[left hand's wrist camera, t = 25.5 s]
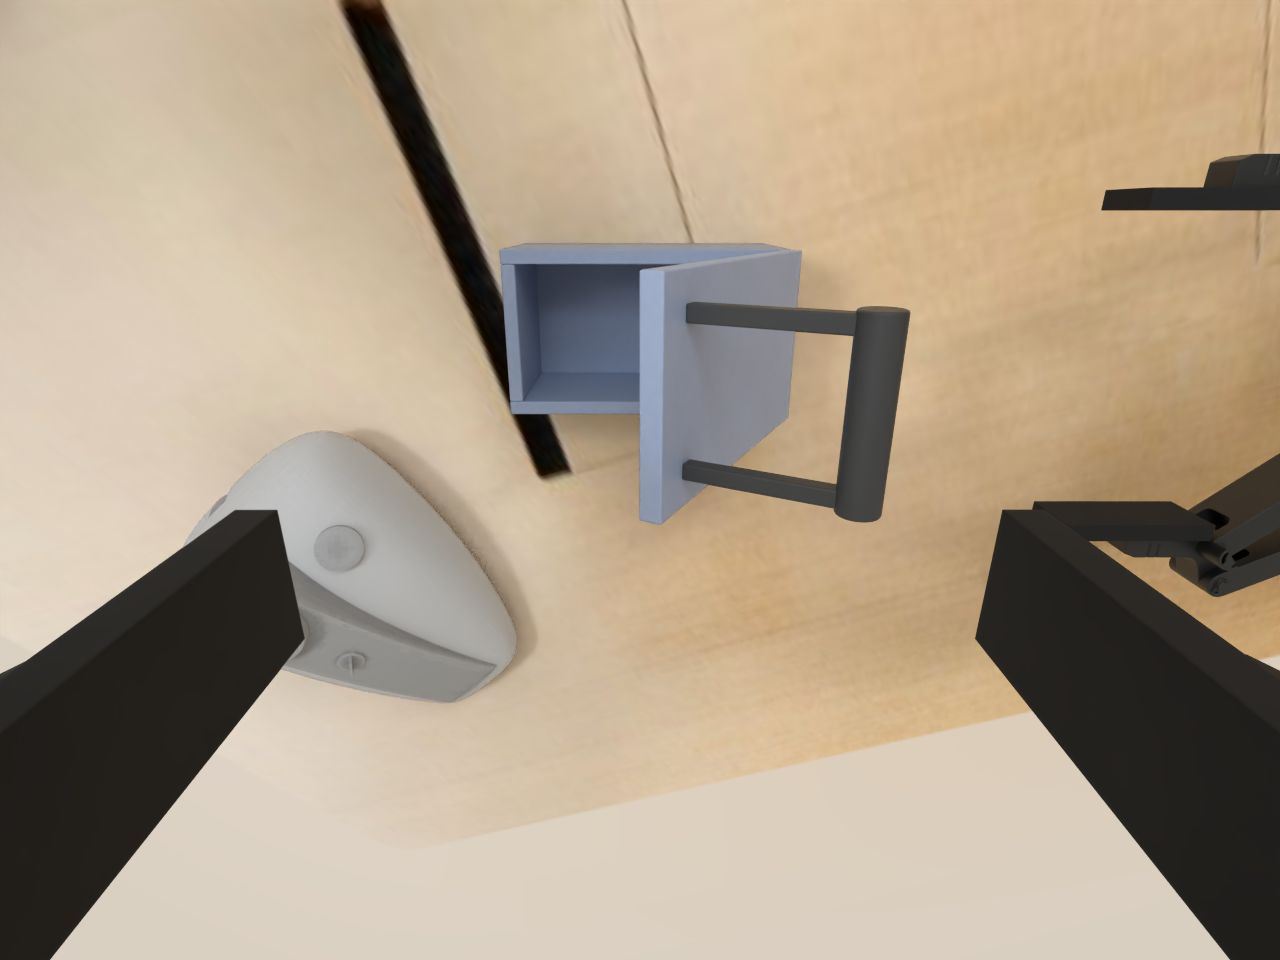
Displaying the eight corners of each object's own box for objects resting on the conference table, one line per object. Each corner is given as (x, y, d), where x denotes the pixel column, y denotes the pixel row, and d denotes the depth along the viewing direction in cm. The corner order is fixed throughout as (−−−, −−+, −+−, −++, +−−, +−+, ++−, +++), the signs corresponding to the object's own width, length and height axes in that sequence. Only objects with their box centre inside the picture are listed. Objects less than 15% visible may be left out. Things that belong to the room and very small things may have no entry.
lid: (638, 520, 26) (865, 571, 22) (638, 269, 22) (905, 280, 19) (772, 415, 39) (926, 436, 35) (784, 249, 36) (956, 253, 32)
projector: (259, 678, 56) (138, 825, 43) (196, 414, 48) (21, 492, 35) (523, 680, 57) (486, 828, 43) (506, 417, 48) (454, 495, 35)
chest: (533, 380, 47) (511, 414, 39) (525, 243, 44) (499, 249, 36) (755, 380, 47) (778, 414, 39) (764, 243, 44) (791, 249, 36)
